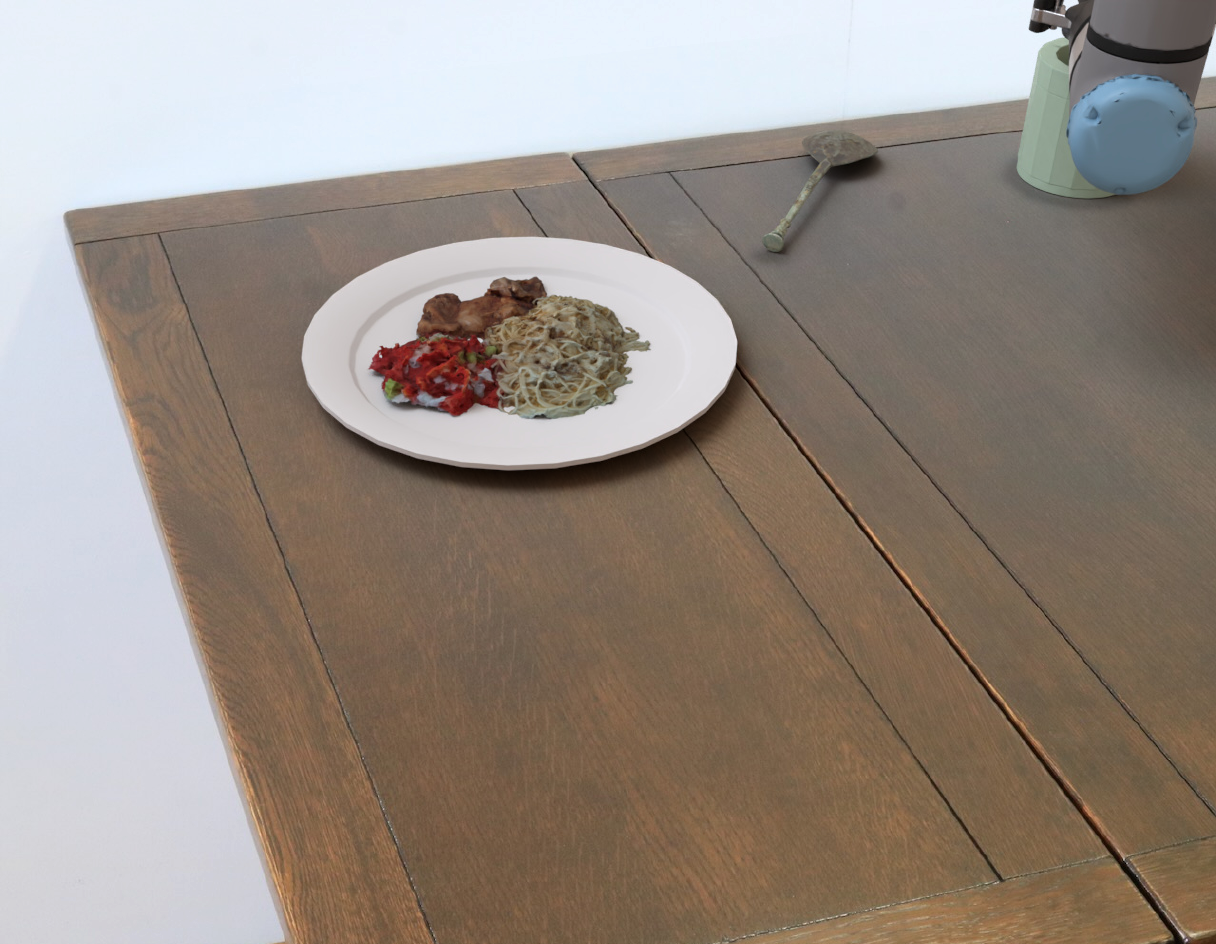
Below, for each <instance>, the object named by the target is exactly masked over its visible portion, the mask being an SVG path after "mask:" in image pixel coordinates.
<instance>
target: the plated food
mask: <svg viewBox="0 0 1216 944" xmlns="http://www.w3.org/2000/svg"><path fill="white" fill-rule="evenodd" d="M737 351H738V339H737V334H736V332H735V328H734V325H733V322H732V319H731V318H730V316H729V314H728V313H727V312H726V310H725V309H724V307H723V305H722V304H721V302H720V301H719V300H718V299H717V298H716V297H715V296H714V295H713V294H711V293H710V292H709V291H708V290H707V289H706V288H705V287H704V286H703V285H701V284H700V283H699V282H698V281H697V280H695V279H693V278H691V277H690V276H688V275H686V274H685V273H683V272H681V271H679V270H678V269H676V268H674V267H673V266H672V265H669V264H667V263H663V262H661V261H658V260H656V259H655V258H651V257H649V256H646V255H644V254H641V253H639V252H636V251H631V250H627V249H623V248H620V247H616V246H613V245H608V244H604V243H598V242H591V241H586V240H579V239H574V238H573V239H572V238H561V237H546V236H545V237H543V236H510V237H509V236H508V237H507V236H505V237H504V236H503V237H490V238H489V237H488V238H480V239H473V240H466V241H458V242H453V243H447V244H444V245H439V246H435V247H430V248H425V249H421V250H418V251H415V252H412V253H408V254H407V255H403V256H401V257H398V258H395V259H393V260H389V261H386V262H384V263H382V264H380V265H378V266H376V267H374V268H372V269H370V270H368V271H366V272H364V273H363V274H360V275H358V276H356V277H355V278H354V279H352V280H351V281H349V282H348V283H347V284H345V285H344V286H343V287H341V288H340V289H338V290H337V291H336V292H334V293H333V294H332V295H331V296H330V297H329V298H328V299H327V300H326V301H325V302H324V303H323V305H322V306H321V307H320V308H319V309H318V310H317V311H316V312H315V314H314V315H313V317H312V319H311V321H310V323H309V325H308V327H307V329H306V331H305V333H304V335H303V342H302V350H301V364H302V368H303V372H304V376H305V379H306V384H307V386H308V389H310V391H311V392H312V394H313V396H314V397H315V399H316V400H317V401H318V403H319V404H320V406H321V407H322V408H323V409H324V411H326V412H327V413H328V414H330V415H331V416H332V417H333V418H334V419H335V420H337V421H338V422H339V423H340V424H341V425H343V426H344V427H345V428H346V429H348V430H349V431H351V432H354V433H355V434H357V435H359V436H360V437H363V438H365V439H367V440H368V441H370V442H372V443H374V444H376V445H377V446H380V447H383V448H386V449H389V450H391V451H395V452H397V453H401V454H403V455H406V456H408V457H409V456H410V457H412V458H414V459H418V460H424V461H429V462H433V463H439V464H443V465H449V466H455V467H459V468H470V469H484V470H499V471H525V470H548V469H549V470H550V469H559V468H566V467H570V466H571V467H572V466H577V465H584V464H589V463H590V464H591V463H596V462H597V463H598V462H601V461H606V460H609V459H611V458H617V457H618V456H622V455H626V454H629V453H632V452H635V451H639V450H642V449H644V448H647V447H649V446H651V445H653V444H656V443H658V442H660V441H662V440H664V439H666V438H668V437H670V436H673V435H674V434H677V433H679V432H680V431H682V430H683V429H684V428H686V427H687V426H689V425H690V424H692V423H693V422H694V421H696V420H697V419H699V418H700V417H701V416H703V415H704V414H706V413H707V411H709V409H710V408H711V407H712V406H713V405H714V404H715V403H716V402H717V400H718V399H719V398H720V397H721V396H722V395H723V394H724V393H725V391H726V389H727V387H728V385H729V383H730V381H731V379H732V377H733V374H734V372H735V370H736V363H737Z"/></svg>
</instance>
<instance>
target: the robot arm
mask: <svg viewBox="0 0 1216 944" xmlns="http://www.w3.org/2000/svg"><path fill="white" fill-rule="evenodd" d="M1064 2H1065V0H1033V4H1032V9H1031V15H1030V19H1029V25H1028V31H1030V32H1032V33H1034V34H1040V33H1045V32H1046V31H1047V30H1052V31H1055V30H1057V29H1058V28H1060V29H1061V35H1062V37H1063V38H1064V37H1065V38H1066V39H1068V40H1069V92H1070V105H1069V121H1068V124H1067V130H1066V137H1067V138H1068V144H1069V146H1070V150H1071V155H1072V159H1073V162H1074V164H1075V166H1076V168H1077V170H1078V171H1079V173H1080V174H1081V175H1082V176H1083V178H1084V179H1085V180H1087V181H1088V182H1089V183H1090V184H1091V185H1093V186H1095V187H1096V188H1098V189H1100V190H1103V191H1105V192H1109V193H1113V194H1116V195H1117V196H1122V195H1123V196H1132V195H1138V194H1143V193H1146V192H1150V191H1152V190H1155V189H1157V188H1158V187H1160V186H1162V185H1164V184H1165V183H1167V182H1168V181H1170V180H1171V179H1172V178H1173V177H1175V176H1176V175H1177V173H1179V172H1180V170H1181V169H1182V168H1183V167H1184V165H1185V164H1186V163H1187V160H1188V159H1189V157H1190V155H1191V152H1192V149H1193V146H1194V141H1195V131H1196V129H1197V125H1198V117H1196V113H1197V109H1196V107H1195V103H1196V99H1197V95H1198V91H1199V89H1200V84H1201V82H1202V81H1201V80H1202V78H1203V77H1202V76H1203V73H1204V70H1205V67H1206V62H1207V59H1208V56H1209V51H1210V47H1211V46H1212V42H1213V38H1214V35H1215V31H1216V0H1077V4H1074V5H1072V6H1070V7H1068V8H1067V9H1066V7H1067V6H1066V5H1065V4H1064Z"/></svg>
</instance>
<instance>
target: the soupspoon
mask: <svg viewBox="0 0 1216 944" xmlns="http://www.w3.org/2000/svg"><path fill="white" fill-rule="evenodd" d="M801 145H802V146H803V148H804V150H805V151H806V152H807V153H808V155H810V156H811V158H813V159H814V160H815V161H816V162H818V165H817V166H816V168H815V169H814V170H813V172H812V173H811V174H810V176H809V178H808V180H807V181H806V183H805V184H804V185H803V188H802V189H801V191H800V193H799V194H798V196H797V198H796V200H795V201H794V203H793V204H792V206H791V208H790V209H789V210H788V212H787V214H786V215H785V217H784V218H781V219H780V220H779V224H778V225H777V226H776V227H775V228H774V229H773V231H771V232H770V233H766V234H765V235H764V236H763V237H762V245H763V246H764V247H765V248H766V250H768V251H770V252H772V253H779V252H781V251H782V250H783V249H784V247H785V242H784V239H785V236H786V234H787V233H788V229H789V228H791V226H792V222H793V221H794V219H795V218H796V216H797V215H798V213H799V212H800V211H801V209H802V208H803V206H804V205H805V203H806V202H807V201H808V199H809V197H810V196H811V194H812V192H813V191H814V189H815V188H816V186H817V185H818V184H819V182H820V181H821V180H822V179H823V177H824V176H825V175H826V173H828V171H830V169H831V168H832V167H837V166H844V165H847V164H852V163H855V162H858V161H860V160H864V159H868V158H872V157H874V156H875V155H876V154H878V153H879V150H878V148H877V147H876V146H875V145H874V144H872V143H871V141H869V140H867V139H865V137H862V136H860V135H858V134H855V133H853V132H849V131H844V130H838V129H829V130H828V129H827V130H822V131H817V132H814V133H812V134H809V135H808V136H806V137H805V138H803V139H802V140H801Z"/></svg>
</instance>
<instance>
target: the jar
mask: <svg viewBox="0 0 1216 944" xmlns="http://www.w3.org/2000/svg"><path fill="white" fill-rule="evenodd" d="M1069 105H1070V92H1069V40H1068V39H1066V38H1065V37H1064V36H1063V37H1059V38H1056V39H1053V40H1050V41H1048V42H1045V43H1044V44H1043V45H1042V47H1041V48H1040V49H1039V50H1038V52H1037V58H1036V63H1035V67H1034V72H1033V77H1032V83H1031V87H1030V92H1029V98H1028V103H1027V107H1026V111H1025V112H1026V113H1025V117H1024V123H1023V128H1022V133H1021V136H1020V141H1019V147H1018V153H1017V163H1016V171H1017V174H1018V175H1019V177H1020V178H1021V179H1022V180H1023V181H1024V182H1025V183H1027V184H1028V185H1030V186H1031V187H1033V188H1035V189H1038V190H1041V191H1043V192H1046V193H1048V194H1052V195H1056V196H1060V197H1066V198H1072V199H1103V198H1109V197H1112V196H1115V195H1117V194H1113V193H1109V192H1105V191H1103V190H1100V189H1098V188H1096V187H1095V186H1093V185H1091V184H1090V183H1089V182H1088V181H1087V180H1085V179H1084V178H1083V176H1082V175H1081V174H1080V173H1079V171H1078V170H1077V168H1076V166H1075V164H1074V162H1073V159H1072V155H1071V150H1070V146H1069V144H1068V138H1067V137H1066V130H1067V124H1068V121H1069Z"/></svg>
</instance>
